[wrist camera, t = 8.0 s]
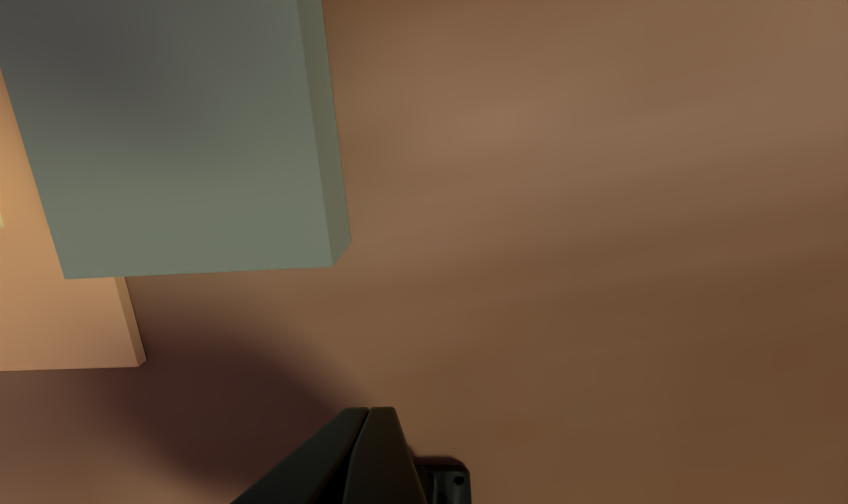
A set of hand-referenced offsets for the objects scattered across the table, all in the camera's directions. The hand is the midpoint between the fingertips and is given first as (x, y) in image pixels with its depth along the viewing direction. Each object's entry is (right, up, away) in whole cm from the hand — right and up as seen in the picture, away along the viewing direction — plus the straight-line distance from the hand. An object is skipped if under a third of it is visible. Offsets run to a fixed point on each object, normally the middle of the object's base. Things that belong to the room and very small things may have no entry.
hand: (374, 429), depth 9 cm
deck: (-8, +9, +10) cm, 16 cm away
